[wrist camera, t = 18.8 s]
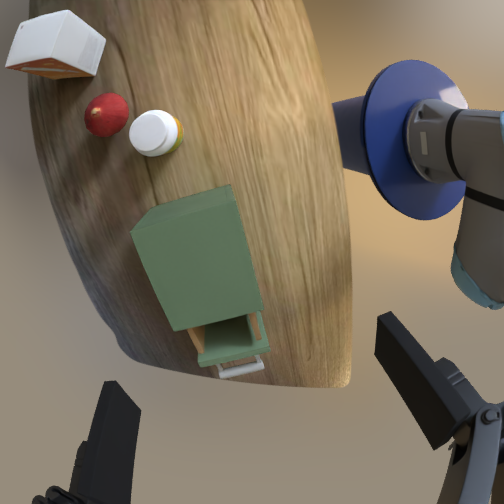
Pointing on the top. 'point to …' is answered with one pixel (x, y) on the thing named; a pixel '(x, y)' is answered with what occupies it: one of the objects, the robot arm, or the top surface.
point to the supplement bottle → (156, 133)
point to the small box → (56, 47)
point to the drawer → (231, 343)
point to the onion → (106, 114)
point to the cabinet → (198, 259)
